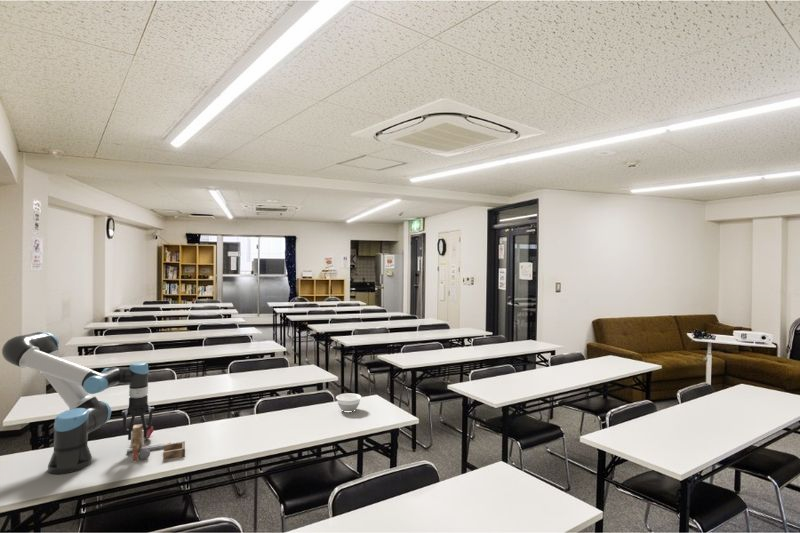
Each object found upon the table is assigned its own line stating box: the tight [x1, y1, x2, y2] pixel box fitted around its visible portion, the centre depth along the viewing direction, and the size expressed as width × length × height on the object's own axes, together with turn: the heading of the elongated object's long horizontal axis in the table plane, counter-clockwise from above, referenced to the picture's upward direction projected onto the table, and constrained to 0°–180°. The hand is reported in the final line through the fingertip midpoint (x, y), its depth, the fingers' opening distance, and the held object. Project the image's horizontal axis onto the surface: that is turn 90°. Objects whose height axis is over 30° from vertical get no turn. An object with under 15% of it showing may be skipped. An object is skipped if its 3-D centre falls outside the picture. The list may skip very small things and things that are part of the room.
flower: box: [142, 424, 154, 443], centre depth 209 cm, size 10×9×8 cm
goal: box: [162, 440, 186, 461], centre depth 194 cm, size 9×10×4 cm
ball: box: [138, 449, 151, 461], centre depth 189 cm, size 4×4×4 cm
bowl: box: [335, 392, 362, 411], centre depth 260 cm, size 16×16×9 cm
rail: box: [126, 442, 172, 455], centre depth 199 cm, size 18×2×2 cm, turn 118°
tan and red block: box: [131, 423, 143, 462], centre depth 192 cm, size 4×14×12 cm, turn 28°
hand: (137, 445), depth 196 cm, fingers closed on tan and red block, 4 cm apart
